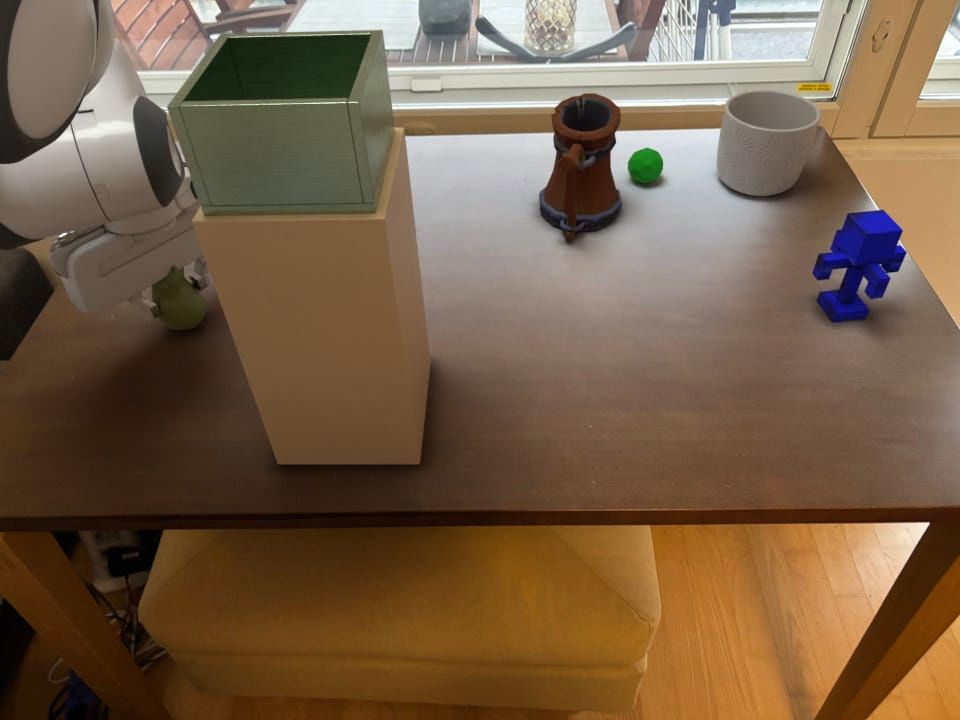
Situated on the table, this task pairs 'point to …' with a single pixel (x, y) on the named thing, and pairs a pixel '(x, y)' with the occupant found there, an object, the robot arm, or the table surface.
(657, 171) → the polyhedron
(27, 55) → the robot arm
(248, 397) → the table surface
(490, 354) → the table surface
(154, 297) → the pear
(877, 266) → the figurine
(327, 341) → the bin
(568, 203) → the mug
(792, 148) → the planter
